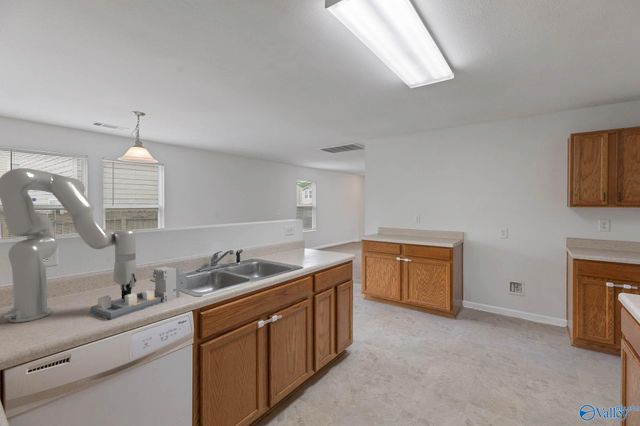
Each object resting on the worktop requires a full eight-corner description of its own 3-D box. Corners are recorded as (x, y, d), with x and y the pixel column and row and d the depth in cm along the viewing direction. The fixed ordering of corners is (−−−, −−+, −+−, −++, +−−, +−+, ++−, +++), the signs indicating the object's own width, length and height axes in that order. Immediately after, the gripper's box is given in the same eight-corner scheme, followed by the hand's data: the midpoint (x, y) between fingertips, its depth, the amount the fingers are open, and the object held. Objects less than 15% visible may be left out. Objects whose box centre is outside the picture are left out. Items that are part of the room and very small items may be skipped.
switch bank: (111, 319, 112) (110, 312, 112) (91, 312, 119) (90, 306, 119) (160, 302, 131) (160, 296, 131) (141, 297, 138) (141, 291, 138)
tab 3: (147, 302, 127) (146, 291, 127) (142, 301, 129) (142, 290, 128) (154, 300, 130) (154, 289, 130) (150, 299, 132) (150, 288, 132)
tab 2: (128, 307, 122) (128, 295, 121) (124, 305, 123) (124, 294, 123) (137, 304, 125) (136, 293, 125) (133, 303, 126) (132, 292, 126)
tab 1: (102, 309, 118) (101, 298, 118) (98, 308, 120) (97, 297, 119) (111, 307, 121) (111, 295, 121) (107, 306, 123) (107, 294, 123)
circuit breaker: (189, 293, 145) (189, 264, 144) (164, 302, 132) (163, 270, 131) (179, 291, 148) (179, 263, 147) (153, 300, 135) (153, 269, 134)
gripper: (106, 257, 124) (107, 298, 125) (126, 260, 118) (127, 303, 119) (124, 254, 131) (125, 293, 132) (144, 257, 125) (145, 298, 126)
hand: (126, 298), depth 125 cm, fingers closed
